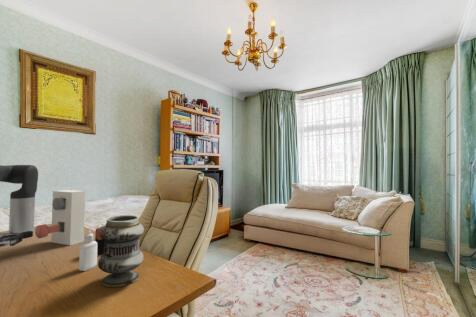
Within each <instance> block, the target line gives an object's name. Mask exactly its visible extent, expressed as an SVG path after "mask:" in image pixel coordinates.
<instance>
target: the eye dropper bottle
mask: <svg viewBox="0 0 476 317" xmlns="http://www.w3.org/2000/svg"><path fill="white" fill-rule="evenodd" d="M94 236H95V235H94V233H92V231H91V230H87V234H84V242H82V243H81V245H80V247H79V254H78V255H79V259H78V260H79V261H78V262H79V263H78V264H79V265H78V269H79V271H80V272H86V271H90V270H92V269H94V268H95V267H97V266H98V254H97V242H96V241H95V240H94Z"/></svg>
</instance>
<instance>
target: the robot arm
mask: <svg viewBox="0 0 476 317" xmlns="http://www.w3.org/2000/svg"><path fill="white" fill-rule="evenodd" d="M38 180H39V170H38V168H37V166H35V165H32V164H12V165H1V164H0V182H1V183H9V184H15V185H18V184H19V185H20V184H21V187H20V188H19V189H17V190H14V191H11V192H10V193H9V195H10V196H9V198H10V199H9V216H8V218H9V219H8V221H9V222H8V232H5V233H0V248H4V247H5V246H10V247H13V246H16V245H17V244H18V245H19V244H20V243H22V242H23V240H25V239H29V238H33V236H34V232H35V208H36V205H35V204H36V193H37V190H38V183H39V182H38Z"/></svg>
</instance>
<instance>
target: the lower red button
mask: <svg viewBox="0 0 476 317" xmlns="http://www.w3.org/2000/svg"><path fill="white" fill-rule="evenodd" d="M59 227H60V225H52V224H51V225H47V224H39V225H37V226H36V227H35V228H34V232H35V233H34V234H35V237H36V238H37V239H42V238H46V237H48V235H49V234H51V233H53V232H58V231H59Z"/></svg>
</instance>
